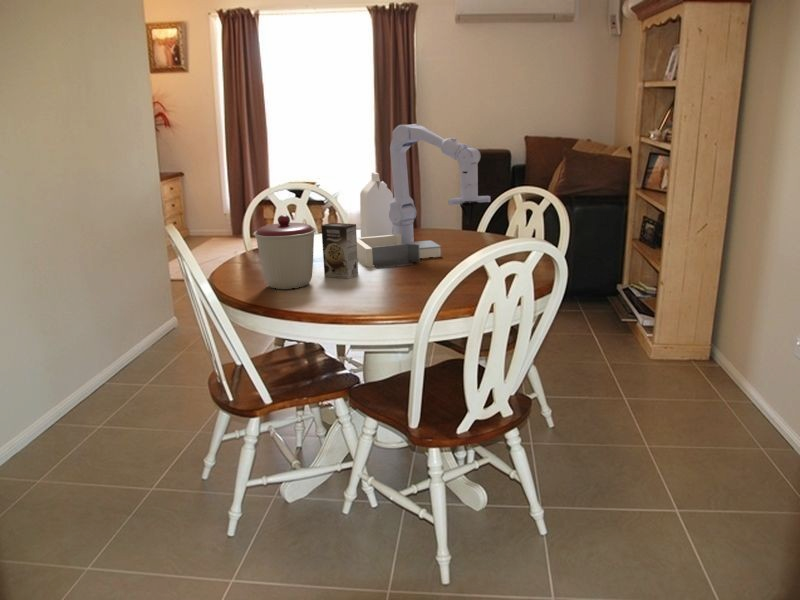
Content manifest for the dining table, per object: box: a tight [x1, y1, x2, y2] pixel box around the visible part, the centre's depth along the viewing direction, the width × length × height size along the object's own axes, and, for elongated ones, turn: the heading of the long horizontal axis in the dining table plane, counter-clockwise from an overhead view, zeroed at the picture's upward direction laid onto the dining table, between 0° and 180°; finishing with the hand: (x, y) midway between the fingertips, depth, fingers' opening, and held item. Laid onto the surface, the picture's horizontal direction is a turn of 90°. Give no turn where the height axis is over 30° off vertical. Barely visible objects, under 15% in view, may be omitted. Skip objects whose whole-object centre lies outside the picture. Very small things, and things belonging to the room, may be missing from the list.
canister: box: [253, 214, 317, 290], centre depth 209 cm, size 18×18×21 cm
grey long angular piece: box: [371, 244, 421, 269], centre depth 233 cm, size 6×16×6 cm, turn 106°
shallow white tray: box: [357, 234, 402, 268], centre depth 244 cm, size 22×18×6 cm
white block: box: [407, 240, 442, 259], centre depth 247 cm, size 12×9×4 cm
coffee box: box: [320, 222, 359, 280], centre depth 220 cm, size 9×6×16 cm
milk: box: [359, 172, 394, 238], centre depth 274 cm, size 12×12×26 cm
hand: (469, 224), depth 243 cm, fingers closed
